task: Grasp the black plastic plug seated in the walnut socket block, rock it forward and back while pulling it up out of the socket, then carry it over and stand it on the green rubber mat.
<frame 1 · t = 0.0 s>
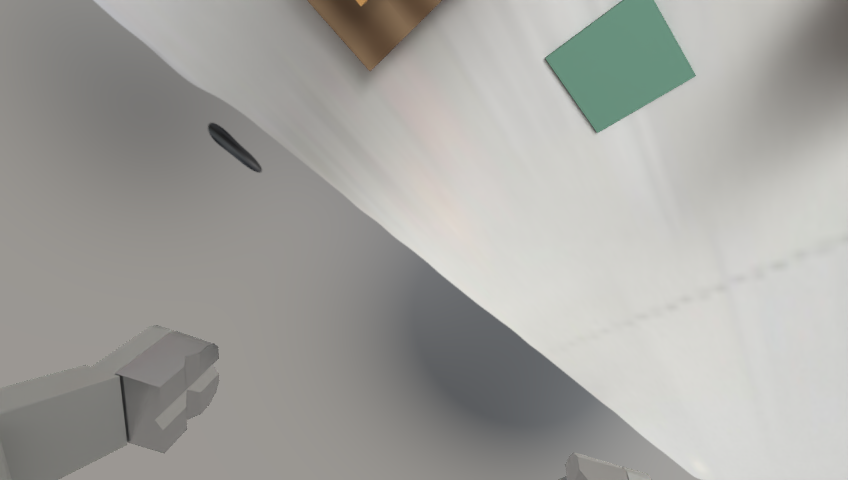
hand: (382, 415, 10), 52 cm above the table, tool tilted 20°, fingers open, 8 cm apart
mat: (618, 65, 51), on the table
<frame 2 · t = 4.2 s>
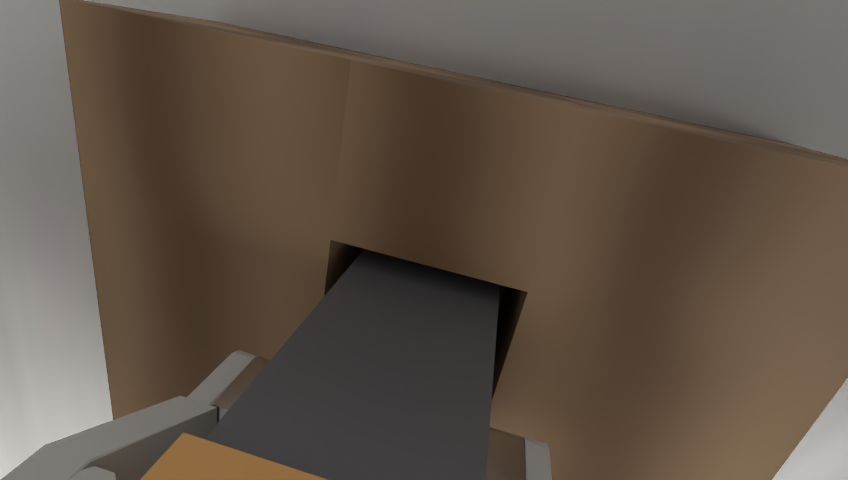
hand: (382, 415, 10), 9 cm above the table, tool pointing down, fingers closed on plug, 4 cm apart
plug: (438, 270, 17), point 1 cm above the table, touching gripper, socket block
socket block: (442, 260, 17), on the table
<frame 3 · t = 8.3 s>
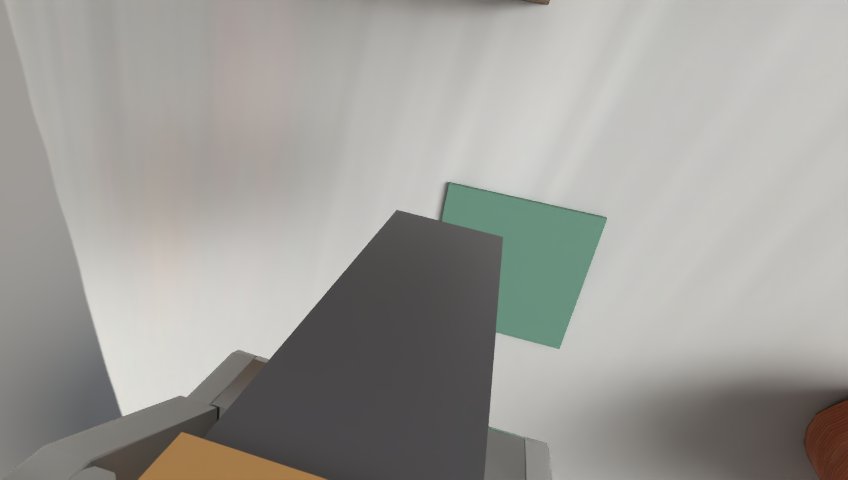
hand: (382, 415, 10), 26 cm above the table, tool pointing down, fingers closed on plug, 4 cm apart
plug: (438, 271, 17), point 18 cm above the table, touching gripper
mat: (506, 268, 35), on the table
when the fingers open (9 cm above the table, at t = 12.2 s): plug stays where it is, resting on mat.
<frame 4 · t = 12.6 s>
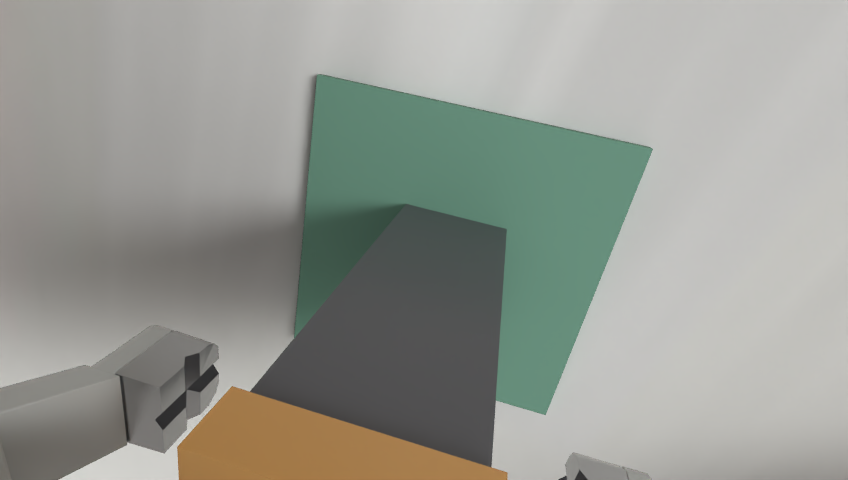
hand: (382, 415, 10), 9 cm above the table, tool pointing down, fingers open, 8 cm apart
plug: (445, 261, 17), resting on mat
mat: (443, 257, 18), on the table
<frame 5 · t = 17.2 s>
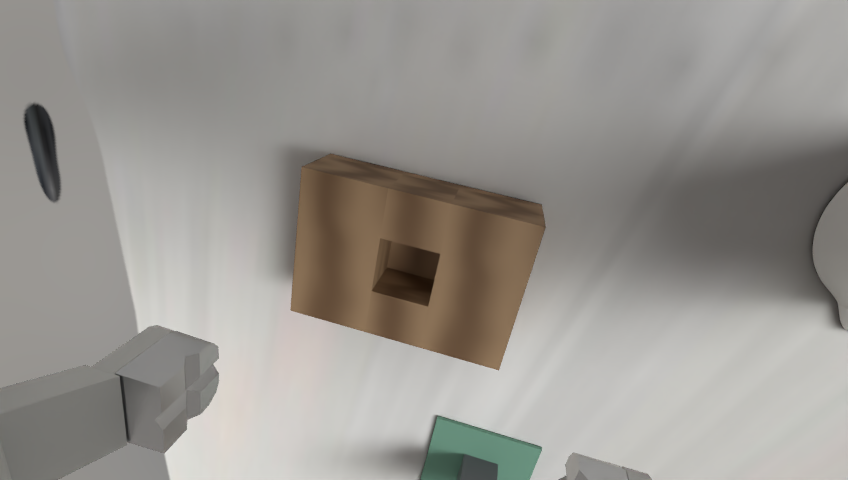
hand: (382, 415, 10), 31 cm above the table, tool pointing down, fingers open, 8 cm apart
plug: (477, 470, 51), resting on mat
mat: (476, 467, 51), on the table
socket block: (419, 246, 42), on the table
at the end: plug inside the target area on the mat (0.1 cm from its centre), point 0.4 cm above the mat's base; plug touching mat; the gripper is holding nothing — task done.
